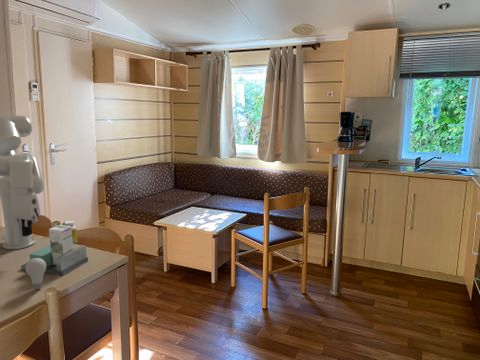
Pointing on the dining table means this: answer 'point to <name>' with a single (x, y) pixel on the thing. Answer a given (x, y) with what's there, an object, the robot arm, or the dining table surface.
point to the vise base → (54, 268)
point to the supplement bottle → (73, 229)
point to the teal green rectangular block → (43, 255)
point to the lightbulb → (36, 271)
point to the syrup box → (60, 241)
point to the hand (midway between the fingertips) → (27, 235)
